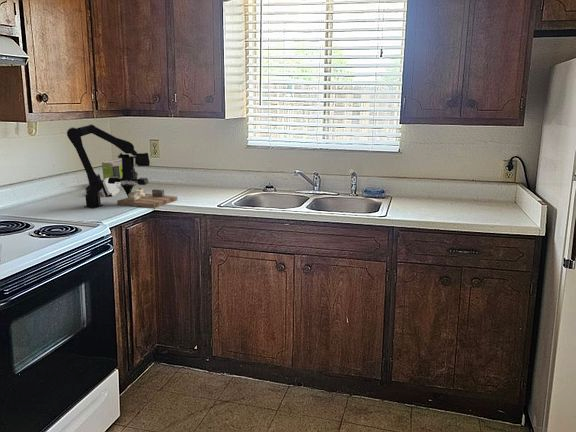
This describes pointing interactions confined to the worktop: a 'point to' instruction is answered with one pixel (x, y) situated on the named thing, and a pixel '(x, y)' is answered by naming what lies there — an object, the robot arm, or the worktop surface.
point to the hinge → (109, 188)
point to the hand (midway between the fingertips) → (128, 197)
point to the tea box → (112, 170)
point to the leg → (136, 194)
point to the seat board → (150, 199)
